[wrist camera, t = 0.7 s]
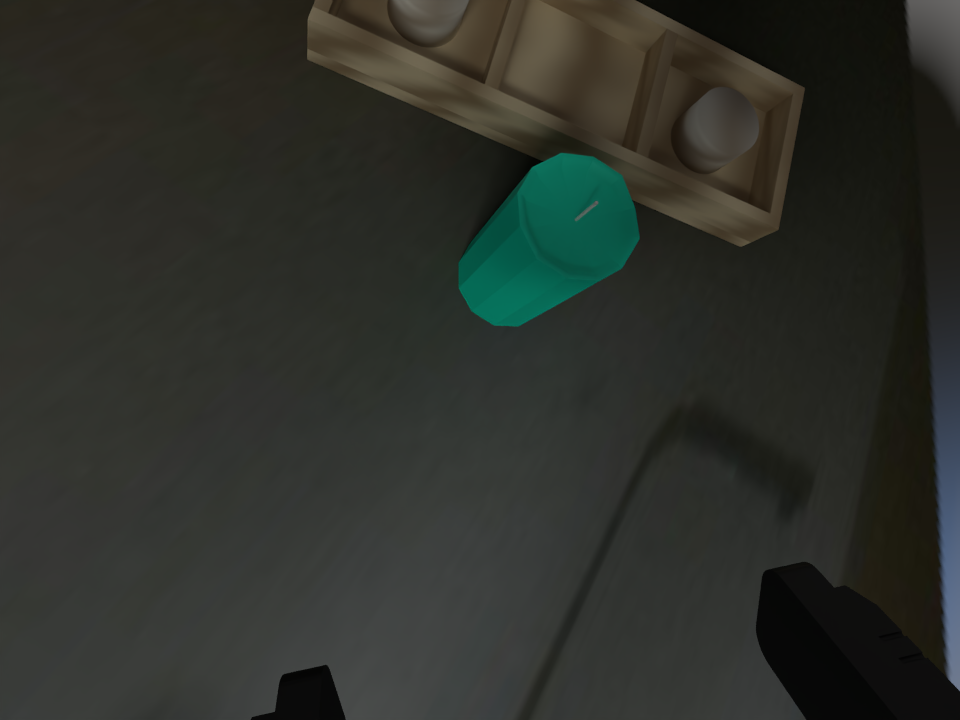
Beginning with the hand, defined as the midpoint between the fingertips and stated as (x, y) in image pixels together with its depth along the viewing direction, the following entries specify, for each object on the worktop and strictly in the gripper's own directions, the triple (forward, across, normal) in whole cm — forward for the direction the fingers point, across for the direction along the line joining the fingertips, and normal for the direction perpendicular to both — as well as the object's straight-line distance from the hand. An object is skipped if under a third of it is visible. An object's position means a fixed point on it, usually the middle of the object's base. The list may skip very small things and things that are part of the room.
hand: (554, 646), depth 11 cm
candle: (+27, -4, +2) cm, 28 cm away
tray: (+34, -11, -7) cm, 37 cm away
